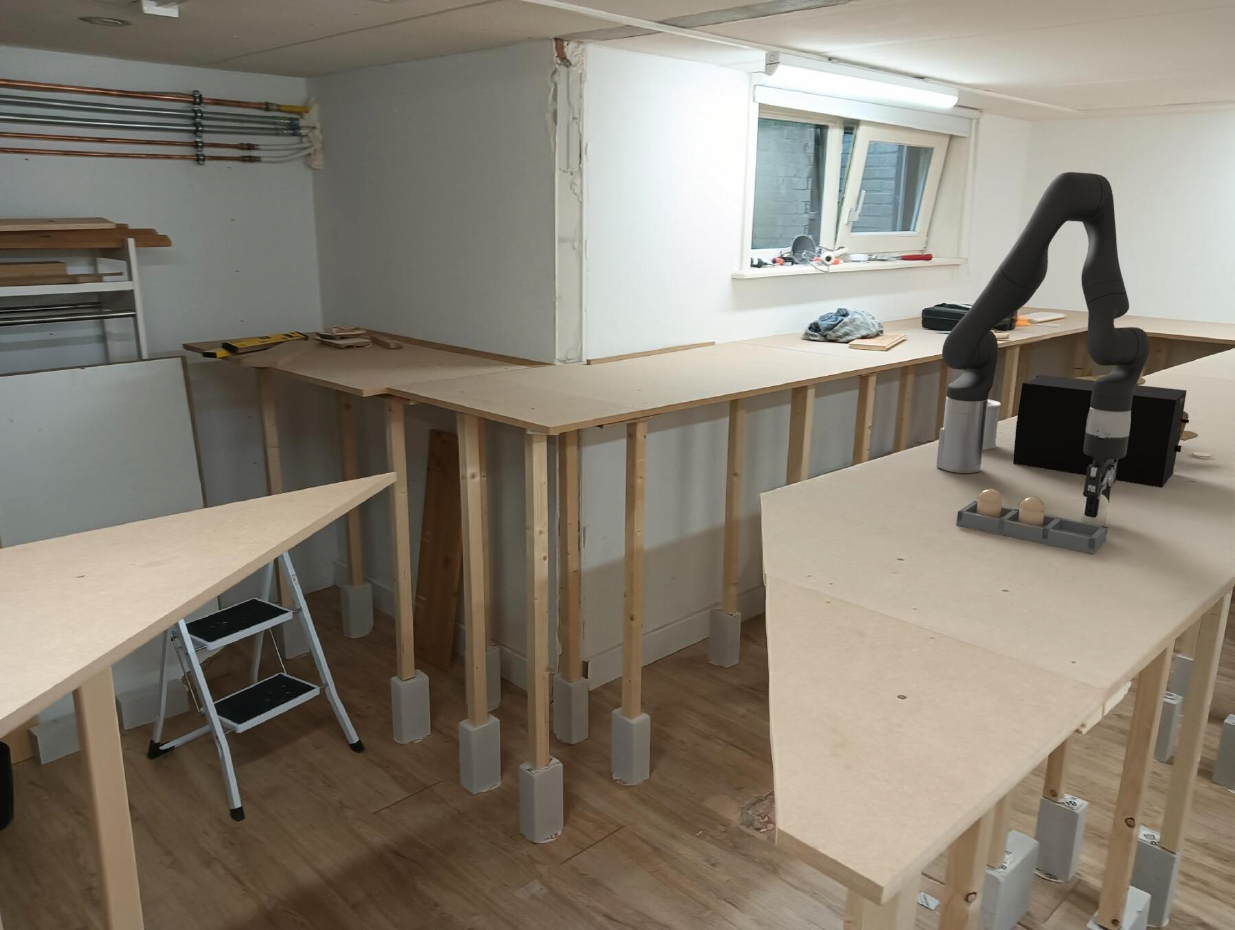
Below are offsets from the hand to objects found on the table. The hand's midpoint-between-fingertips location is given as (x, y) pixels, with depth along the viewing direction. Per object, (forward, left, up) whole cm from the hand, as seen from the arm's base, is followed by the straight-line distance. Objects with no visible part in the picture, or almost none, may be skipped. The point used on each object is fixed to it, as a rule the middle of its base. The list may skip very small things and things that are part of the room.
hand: (1096, 511), depth 186 cm
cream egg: (0, 0, -3) cm, 3 cm away
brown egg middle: (-8, -14, -2) cm, 16 cm away
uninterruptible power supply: (-10, +42, -3) cm, 43 cm away
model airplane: (-10, +67, -3) cm, 68 cm away
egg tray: (-8, -14, -3) cm, 16 cm away
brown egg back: (-16, -14, -2) cm, 21 cm away
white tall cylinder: (-40, +47, -3) cm, 62 cm away
